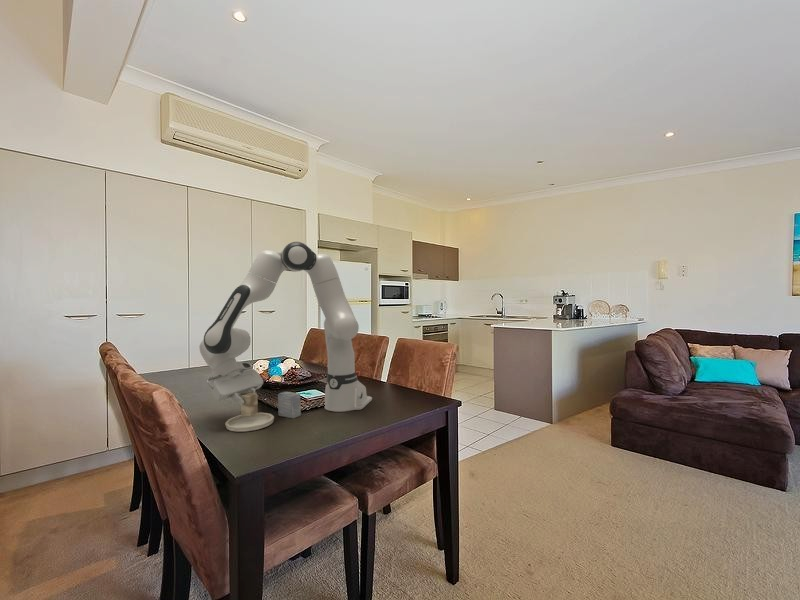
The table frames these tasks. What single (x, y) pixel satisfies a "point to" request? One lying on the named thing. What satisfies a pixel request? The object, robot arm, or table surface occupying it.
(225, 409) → the table surface
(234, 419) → the dish
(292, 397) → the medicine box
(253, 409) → the birch block
